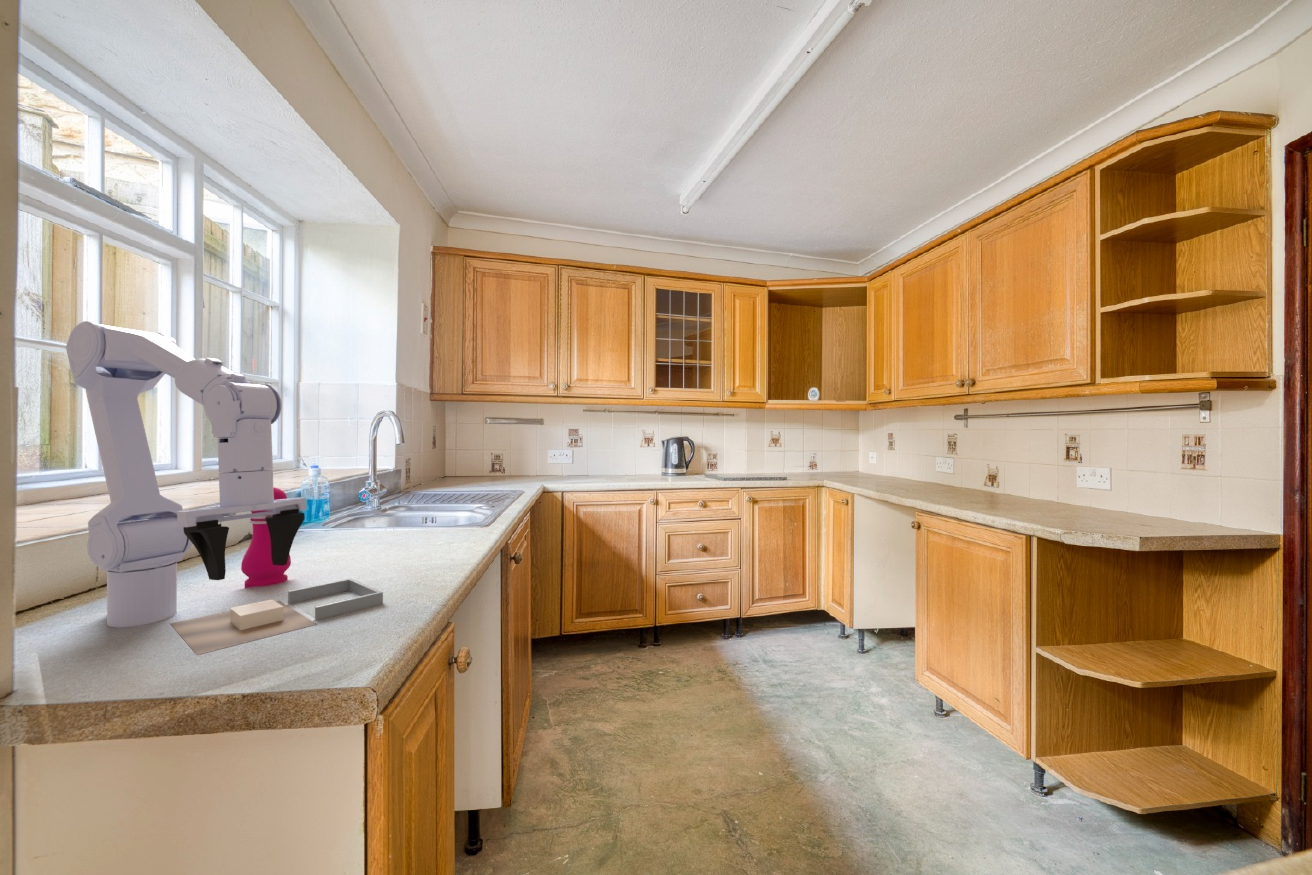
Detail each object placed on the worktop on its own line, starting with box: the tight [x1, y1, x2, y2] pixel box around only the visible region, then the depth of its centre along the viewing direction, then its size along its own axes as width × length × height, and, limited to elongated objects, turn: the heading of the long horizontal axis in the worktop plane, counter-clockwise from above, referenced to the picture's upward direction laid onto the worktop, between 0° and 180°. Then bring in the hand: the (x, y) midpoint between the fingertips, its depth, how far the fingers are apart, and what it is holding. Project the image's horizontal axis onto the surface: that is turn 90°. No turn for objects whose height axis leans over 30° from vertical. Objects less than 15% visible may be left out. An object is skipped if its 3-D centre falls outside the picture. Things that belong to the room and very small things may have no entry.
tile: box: [229, 598, 283, 630], centre depth 74 cm, size 5×5×2 cm
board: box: [170, 600, 318, 656], centre depth 73 cm, size 16×13×1 cm
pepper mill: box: [240, 486, 292, 589], centre depth 93 cm, size 7×7×20 cm
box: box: [283, 577, 384, 622], centre depth 82 cm, size 12×10×3 cm
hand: (250, 571), depth 69 cm, fingers open, 7 cm apart
